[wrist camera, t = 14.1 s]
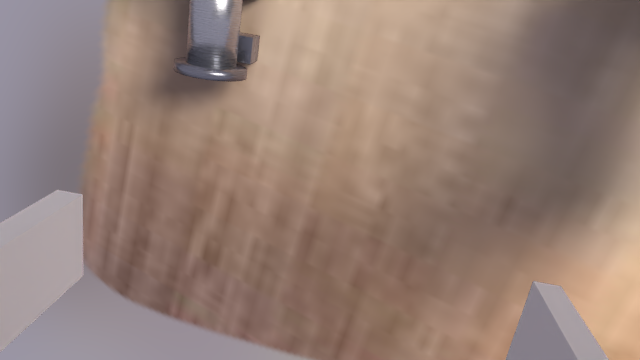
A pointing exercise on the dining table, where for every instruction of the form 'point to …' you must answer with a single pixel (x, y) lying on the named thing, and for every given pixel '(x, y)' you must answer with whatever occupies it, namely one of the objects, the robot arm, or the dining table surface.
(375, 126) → the dining table surface
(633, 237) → the dining table surface
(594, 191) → the dining table surface
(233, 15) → the grey metal parts
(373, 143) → the dining table surface
